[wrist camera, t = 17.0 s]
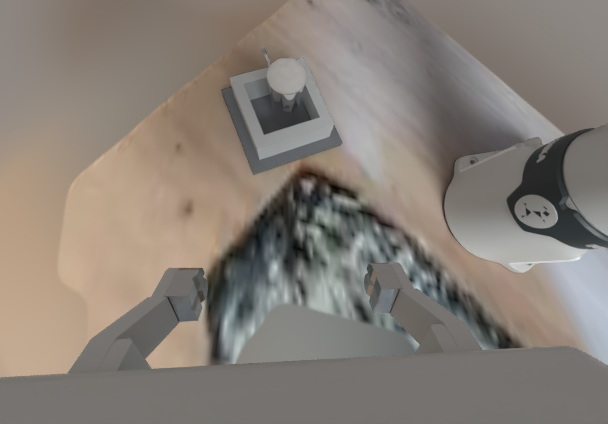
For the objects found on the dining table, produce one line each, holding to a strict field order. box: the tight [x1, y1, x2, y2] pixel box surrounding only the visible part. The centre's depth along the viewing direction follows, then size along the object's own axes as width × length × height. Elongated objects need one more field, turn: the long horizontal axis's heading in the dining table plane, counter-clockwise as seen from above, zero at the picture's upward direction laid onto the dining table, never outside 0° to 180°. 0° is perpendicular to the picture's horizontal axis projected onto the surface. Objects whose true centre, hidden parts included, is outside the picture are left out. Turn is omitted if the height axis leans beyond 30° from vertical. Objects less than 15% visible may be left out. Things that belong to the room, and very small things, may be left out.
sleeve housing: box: [221, 58, 342, 175], centre depth 34 cm, size 14×14×4 cm
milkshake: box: [262, 47, 306, 126], centre depth 30 cm, size 4×5×10 cm
